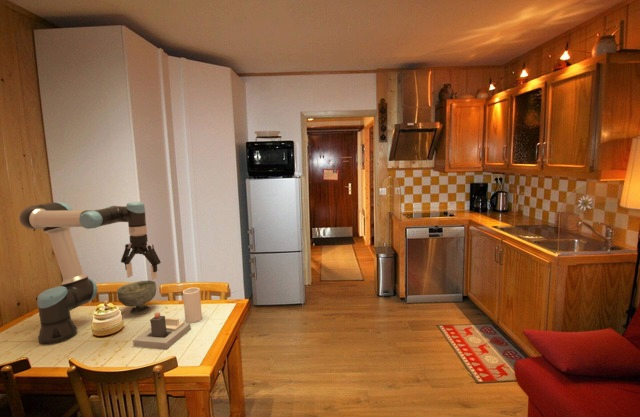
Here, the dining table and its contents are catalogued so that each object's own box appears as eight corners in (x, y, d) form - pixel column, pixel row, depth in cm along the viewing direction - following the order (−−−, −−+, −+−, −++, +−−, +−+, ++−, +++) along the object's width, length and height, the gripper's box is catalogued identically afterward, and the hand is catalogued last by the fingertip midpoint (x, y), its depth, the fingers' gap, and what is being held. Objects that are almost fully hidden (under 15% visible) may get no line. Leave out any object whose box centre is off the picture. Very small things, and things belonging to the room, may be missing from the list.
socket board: (133, 346, 160) (132, 340, 160) (160, 326, 178) (159, 321, 178) (166, 349, 157) (166, 343, 156) (190, 329, 175) (190, 323, 174)
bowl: (134, 303, 209) (131, 279, 207) (165, 304, 206) (162, 279, 204) (110, 318, 190) (107, 291, 188) (143, 319, 187) (140, 292, 185)
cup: (196, 323, 181) (194, 293, 178) (182, 322, 182) (179, 292, 180) (204, 316, 189) (202, 287, 186) (191, 315, 190) (188, 287, 188)
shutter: (153, 328, 169) (152, 321, 169) (163, 321, 177) (162, 314, 176) (175, 330, 167) (174, 322, 166) (184, 323, 174) (183, 315, 174)
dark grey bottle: (152, 342, 163) (149, 315, 162) (158, 337, 168) (156, 311, 166) (161, 342, 162) (158, 316, 161) (167, 338, 167) (164, 311, 165)
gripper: (109, 235, 167) (114, 278, 170) (155, 237, 162) (159, 281, 165) (121, 232, 175) (125, 273, 178) (166, 233, 169) (169, 276, 172)
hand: (142, 277), depth 171 cm, fingers open, 13 cm apart
